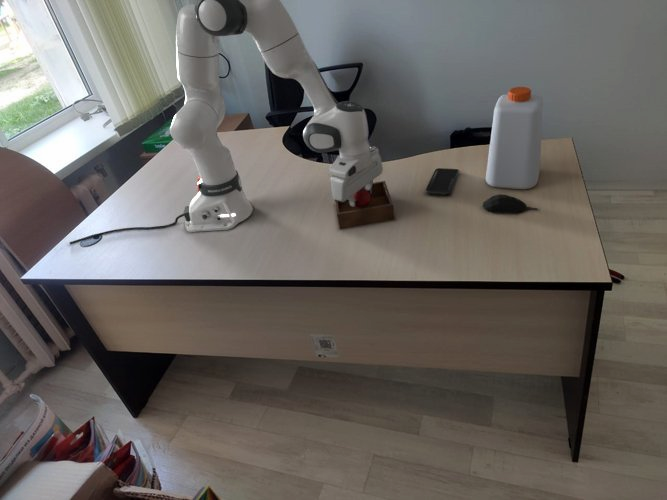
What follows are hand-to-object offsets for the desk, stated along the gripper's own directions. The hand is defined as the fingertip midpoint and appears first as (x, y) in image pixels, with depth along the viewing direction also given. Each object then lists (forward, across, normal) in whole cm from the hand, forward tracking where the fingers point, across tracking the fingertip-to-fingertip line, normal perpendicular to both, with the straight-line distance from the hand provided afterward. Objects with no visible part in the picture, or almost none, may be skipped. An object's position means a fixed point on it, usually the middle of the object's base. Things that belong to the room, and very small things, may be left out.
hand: (360, 199), depth 145 cm
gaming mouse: (+4, -21, +38) cm, 43 cm away
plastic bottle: (+4, -38, +31) cm, 49 cm away
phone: (+4, -25, +13) cm, 29 cm away
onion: (+4, 0, 0) cm, 4 cm away
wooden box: (+4, 0, 0) cm, 5 cm away
